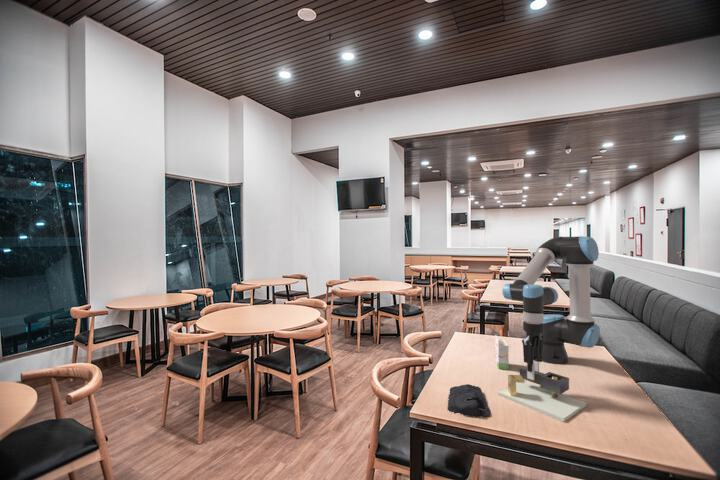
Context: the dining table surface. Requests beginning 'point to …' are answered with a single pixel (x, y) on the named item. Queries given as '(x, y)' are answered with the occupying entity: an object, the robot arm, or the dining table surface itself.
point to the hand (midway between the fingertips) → (533, 377)
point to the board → (544, 401)
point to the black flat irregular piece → (468, 401)
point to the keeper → (514, 383)
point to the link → (548, 381)
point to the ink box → (501, 354)
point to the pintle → (554, 392)
